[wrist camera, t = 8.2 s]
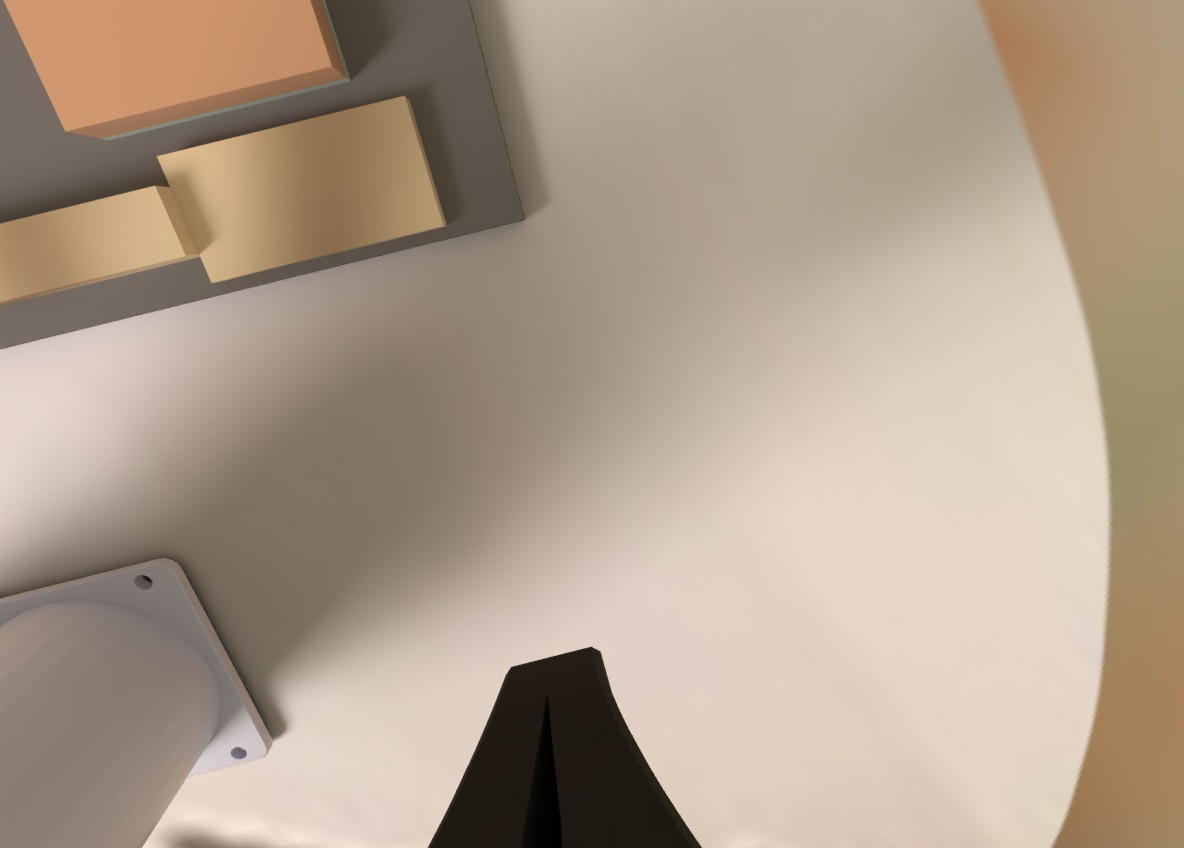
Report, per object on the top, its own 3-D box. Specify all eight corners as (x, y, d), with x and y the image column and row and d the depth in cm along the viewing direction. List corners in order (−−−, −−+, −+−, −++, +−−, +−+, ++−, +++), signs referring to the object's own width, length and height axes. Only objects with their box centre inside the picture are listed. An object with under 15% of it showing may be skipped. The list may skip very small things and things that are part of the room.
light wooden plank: (-77, 355, 16) (-126, 365, 14) (-149, 237, 15) (-207, 238, 13) (446, 226, 16) (439, 225, 15) (409, 100, 15) (398, 90, 14)
